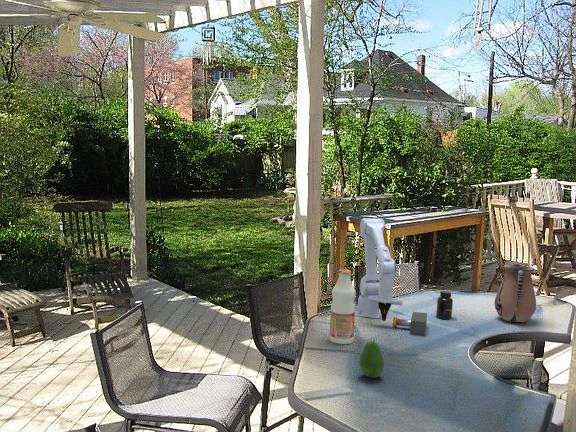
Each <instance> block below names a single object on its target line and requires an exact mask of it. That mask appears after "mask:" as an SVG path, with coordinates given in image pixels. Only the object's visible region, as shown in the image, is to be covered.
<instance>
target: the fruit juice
mask: <svg viewBox="0 0 576 432" xmlns="http://www.w3.org/2000/svg"><path fill="white" fill-rule="evenodd" d="M337 272H338V277H337V278H338V279H337V282H336V283H335V285H334V287H333V288H332V291H331V296H332V301H331V305H330V317H329V337H328V338H329V340H330V342H331V343H334V344H338V345H349V344H352V343H353V342H354V337H355V336H354V335H355V319H356V318H355V317H356V304H355V299H356V295H357V294H356V289H355V287H354V286H353V283H352V279H351V275H352V270H350V269H346V268H345V269H344V268H342V269H338V271H337Z"/></svg>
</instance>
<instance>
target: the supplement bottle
mask: <svg viewBox="0 0 576 432" xmlns="http://www.w3.org/2000/svg"><path fill="white" fill-rule="evenodd" d="M451 297H452V291H448V290H441V291H440V292H439V296H438V297H437V301H436V313H435V317H436V318H437V319H439V320H444V321H446V320H451V319H452V316H453V315H452V313H453V305H454V304H453V301H454V300H453V298H451Z"/></svg>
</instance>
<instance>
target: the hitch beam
mask: <svg viewBox="0 0 576 432" xmlns="http://www.w3.org/2000/svg"><path fill="white" fill-rule="evenodd" d="M411 314H412V315H411V319H410V320H411V324H410V327H409V335H412V336H413V335H414V336H421V337H425V335H426V330H427V324H428V323H427V322H428V321H427V320H428V313H427V312H420V311H412V313H411Z"/></svg>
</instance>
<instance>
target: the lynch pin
mask: <svg viewBox="0 0 576 432" xmlns="http://www.w3.org/2000/svg"><path fill="white" fill-rule="evenodd" d="M410 324H411V319H403V318H398V316H393V318H392V327H395V328H396V327H397V326H401V327H406V328H407V327H409V328H410Z"/></svg>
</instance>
